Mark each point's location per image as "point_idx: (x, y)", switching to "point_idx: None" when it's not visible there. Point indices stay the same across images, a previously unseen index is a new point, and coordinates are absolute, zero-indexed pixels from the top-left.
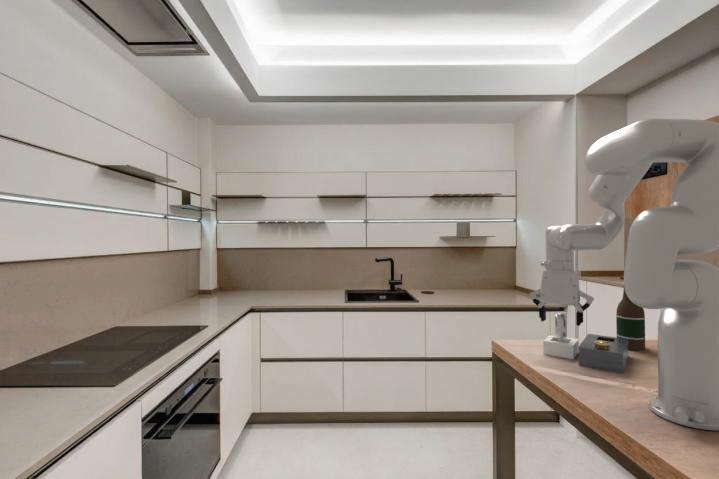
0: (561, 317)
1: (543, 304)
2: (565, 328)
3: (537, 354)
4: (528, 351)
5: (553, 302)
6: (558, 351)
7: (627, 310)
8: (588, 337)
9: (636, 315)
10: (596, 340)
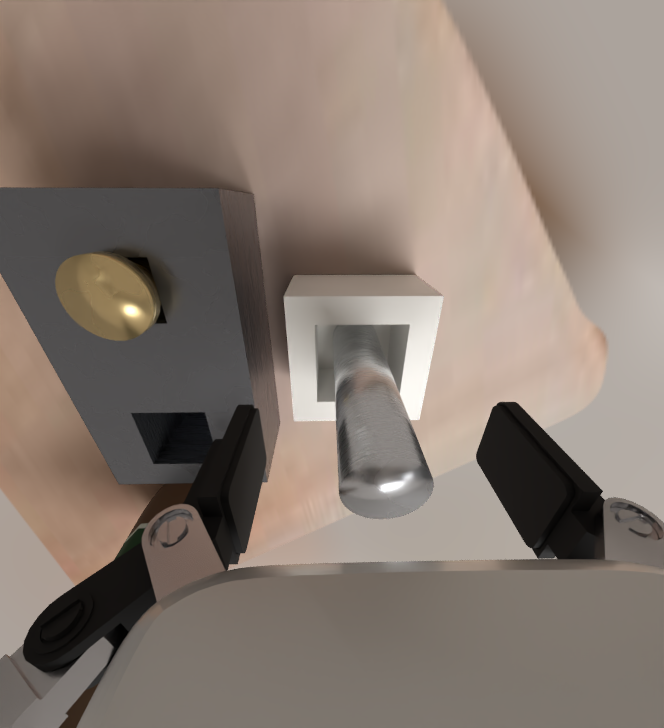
0: (369, 440)
1: (616, 551)
2: (338, 399)
3: None
4: (480, 322)
5: (531, 584)
6: (357, 284)
7: None
8: None
9: None
10: (145, 321)
